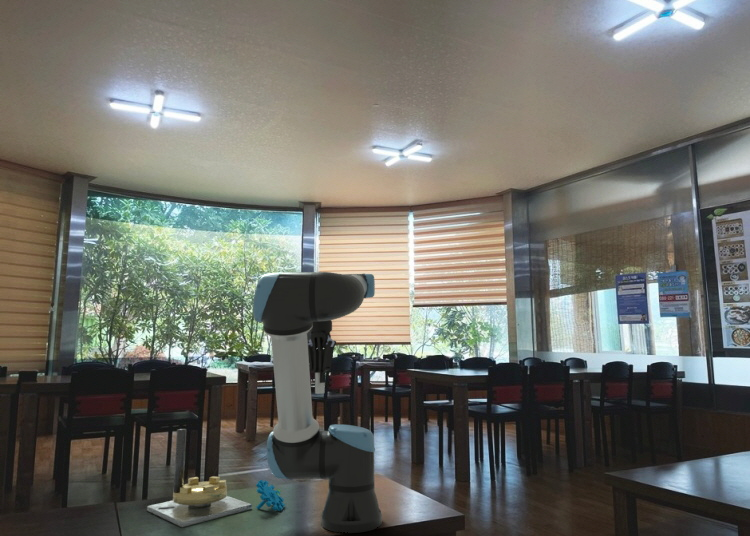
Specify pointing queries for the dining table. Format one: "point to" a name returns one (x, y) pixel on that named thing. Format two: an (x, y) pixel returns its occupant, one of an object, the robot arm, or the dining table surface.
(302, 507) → the dining table surface
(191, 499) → the gold toothed rod mount
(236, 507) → the white square base plate
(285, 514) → the dining table surface
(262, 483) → the gear
